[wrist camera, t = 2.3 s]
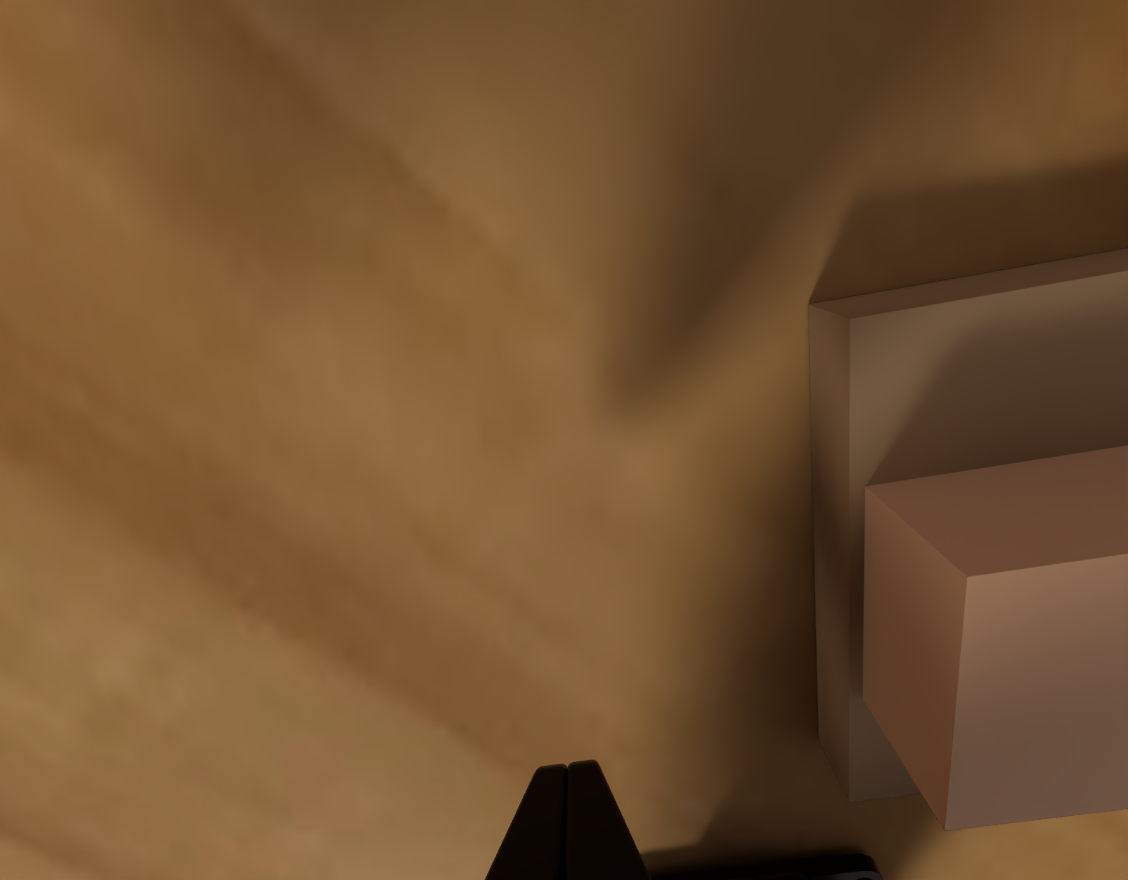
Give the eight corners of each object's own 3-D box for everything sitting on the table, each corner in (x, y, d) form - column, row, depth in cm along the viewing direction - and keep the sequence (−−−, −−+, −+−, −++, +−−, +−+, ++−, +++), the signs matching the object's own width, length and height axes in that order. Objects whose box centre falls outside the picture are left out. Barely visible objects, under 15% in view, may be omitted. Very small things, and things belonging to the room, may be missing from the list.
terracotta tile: (1111, 665, 11) (1267, 792, 8) (863, 699, 11) (945, 831, 9) (1158, 440, 9) (1368, 518, 7) (865, 486, 9) (966, 576, 7)
